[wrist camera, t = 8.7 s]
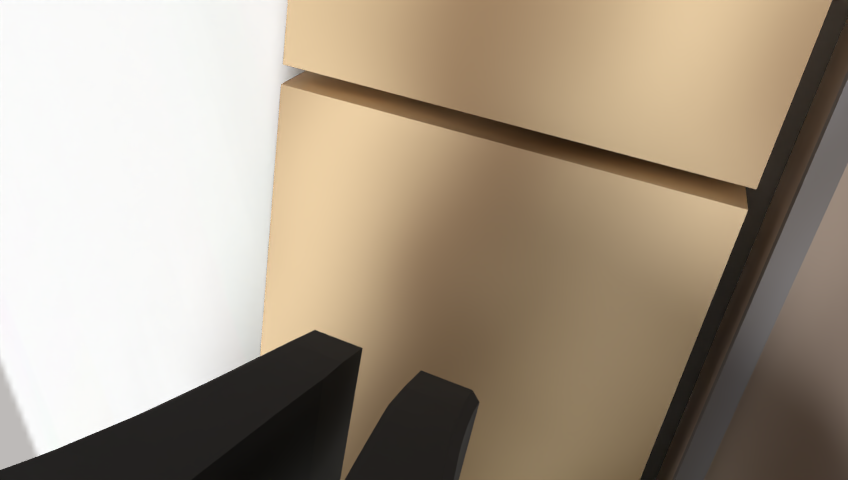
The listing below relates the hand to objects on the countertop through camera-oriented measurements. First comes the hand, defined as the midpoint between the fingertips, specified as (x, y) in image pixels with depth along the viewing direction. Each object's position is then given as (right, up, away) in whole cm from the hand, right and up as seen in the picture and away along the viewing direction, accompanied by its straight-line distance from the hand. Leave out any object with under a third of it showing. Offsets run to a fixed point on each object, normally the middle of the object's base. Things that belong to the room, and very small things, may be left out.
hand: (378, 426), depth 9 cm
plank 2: (+2, 0, +10) cm, 10 cm away
